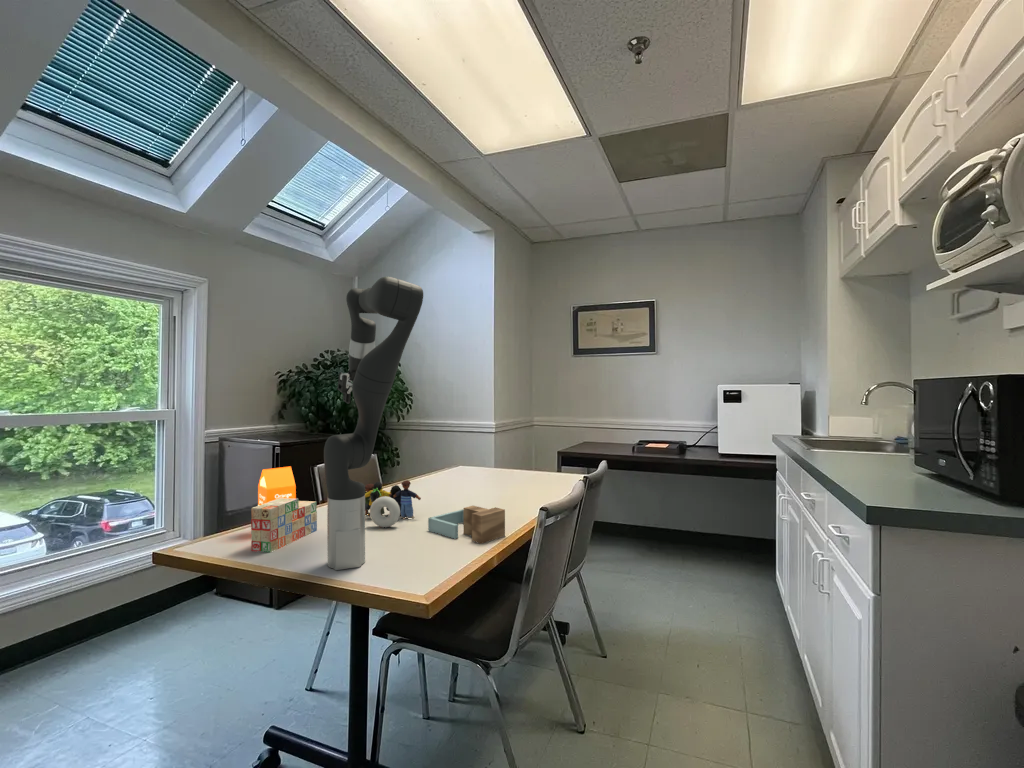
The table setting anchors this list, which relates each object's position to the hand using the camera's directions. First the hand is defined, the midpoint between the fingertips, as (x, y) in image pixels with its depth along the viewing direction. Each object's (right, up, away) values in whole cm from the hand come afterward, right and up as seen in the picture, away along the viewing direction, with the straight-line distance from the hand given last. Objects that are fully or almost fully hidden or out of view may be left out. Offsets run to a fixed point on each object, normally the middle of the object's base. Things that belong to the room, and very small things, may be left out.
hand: (359, 399), depth 156 cm
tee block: (+39, -41, -7) cm, 57 cm away
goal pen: (+32, -41, 0) cm, 52 cm away
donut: (+8, -42, +2) cm, 42 cm away
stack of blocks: (-18, -42, -10) cm, 47 cm away
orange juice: (-25, -42, -2) cm, 49 cm away
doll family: (+6, -42, +15) cm, 45 cm away
